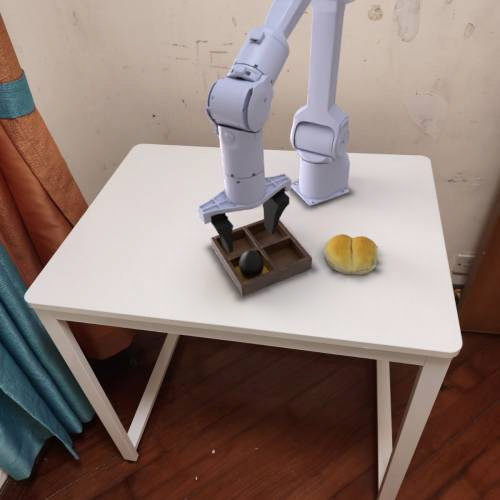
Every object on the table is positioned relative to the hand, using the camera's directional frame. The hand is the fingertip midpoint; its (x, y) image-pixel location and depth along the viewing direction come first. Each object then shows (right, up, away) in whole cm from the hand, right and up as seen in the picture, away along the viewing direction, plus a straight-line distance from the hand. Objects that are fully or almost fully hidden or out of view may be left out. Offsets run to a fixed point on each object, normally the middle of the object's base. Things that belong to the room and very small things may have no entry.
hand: (249, 239), depth 71 cm
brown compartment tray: (+2, -3, +8) cm, 9 cm away
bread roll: (+18, -3, +7) cm, 19 cm away
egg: (0, -6, +5) cm, 8 cm away
